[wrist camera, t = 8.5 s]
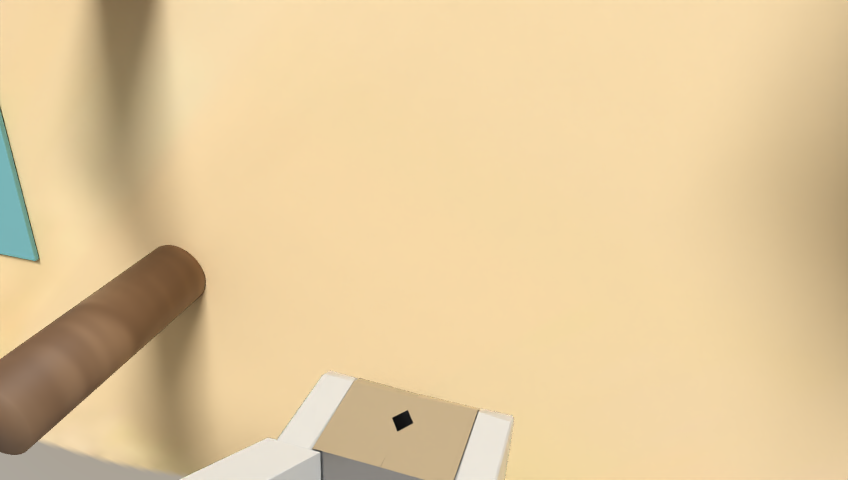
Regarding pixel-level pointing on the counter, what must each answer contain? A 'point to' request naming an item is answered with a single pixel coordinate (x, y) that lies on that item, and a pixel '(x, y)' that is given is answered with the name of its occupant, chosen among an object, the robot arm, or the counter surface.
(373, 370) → the counter surface
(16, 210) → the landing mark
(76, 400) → the post
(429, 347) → the counter surface
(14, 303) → the counter surface
